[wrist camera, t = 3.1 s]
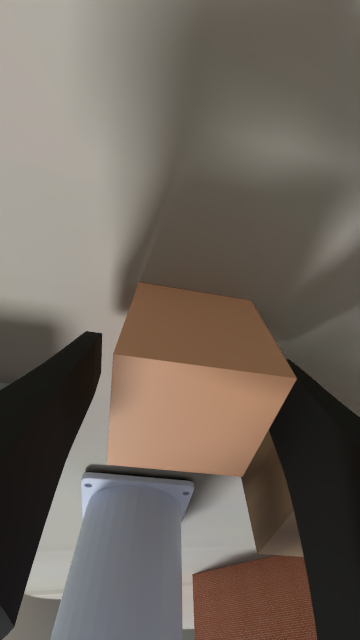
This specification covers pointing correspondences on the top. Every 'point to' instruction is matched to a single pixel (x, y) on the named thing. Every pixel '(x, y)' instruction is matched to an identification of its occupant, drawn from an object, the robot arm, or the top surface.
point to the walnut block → (270, 504)
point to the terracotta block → (193, 383)
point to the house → (254, 601)
